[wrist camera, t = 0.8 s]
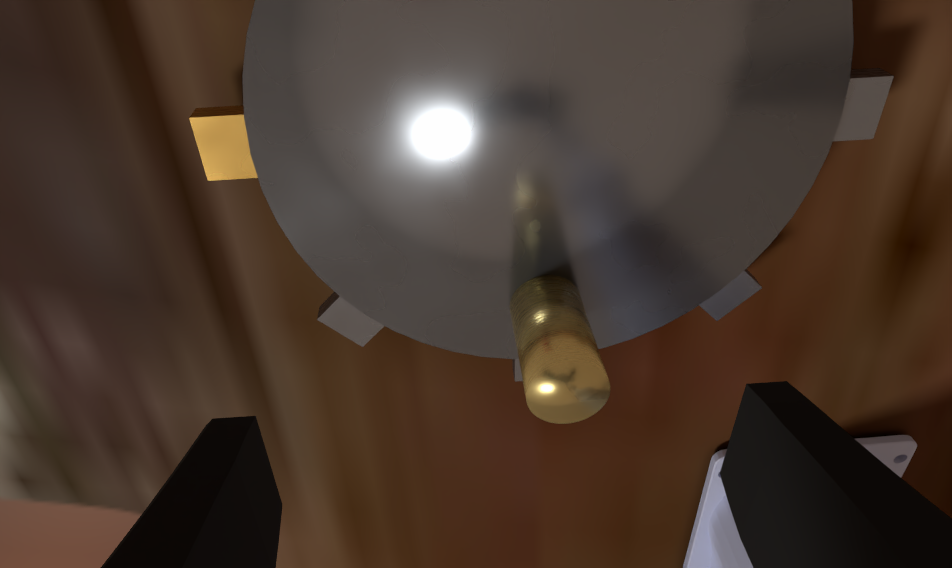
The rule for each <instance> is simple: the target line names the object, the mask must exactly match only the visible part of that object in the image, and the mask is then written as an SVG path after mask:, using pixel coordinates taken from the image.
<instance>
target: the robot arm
mask: <svg viewBox="0 0 952 568" xmlns="http://www.w3.org/2000/svg"><path fill="white" fill-rule="evenodd" d="M916 448H917V444H916V442H915V441H914V440H913V438H912V437H911V436H909V435H894V436H881V437H869V438H856V439H854V438H853V437H852V436H851V435H849V434H848V433H847V432H846V431H845V430H844V429H842V428H841V427H840V426H839V425H838V424H837V423H835V422H834V421H833V420H832V419H831V418H830V417H828V416H827V415H826V414H825V413H824V412H823V411H821V410H820V409H819V408H818V407H817V406H816V405H814V404H813V403H812V402H811V401H810V400H809V399H807V398H806V397H805V396H804V395H803V394H801V393H800V392H799V391H798V390H797V389H795V388H794V387H793V386H792V385H790V384H789V383H788V382H787V381H784V382H769V383H753V384H746V387H745V391H744V394H743V397H742V401H741V404H740V407H739V411H738V414H737V417H736V420H735V424H734V427H733V430H732V434H731V437H730V440H729V444H728V447H727V449H724V450H720V451H718V452H716V453H715V454H714V455H713V456H712V458H711V461H710V465H709V469H708V473H707V477H706V481H705V484H704V488H703V492H702V496H701V500H700V504H699V507H698V511H697V515H696V519H695V523H694V527H693V531H692V534H691V538H690V542H689V546H688V550H687V554H686V557H685V561H684V565H683V568H952V519H951V518H950V517H949V516H948V515H946V514H945V513H944V512H943V511H941V510H940V509H939V508H937V507H936V506H935V505H934V504H932V503H931V502H930V501H929V500H927V499H926V498H925V497H924V496H922V495H921V494H920V493H919V492H918V491H916V490H915V489H914V488H913V487H911V486H910V485H909V484H908V483H907V482H905V481H904V480H903V479H902V478H901V477H902V475H903V473H904V471H905V470H906V468H907V466H908V464H909V462H910V460H911V458H912V456H913V454H914V452H915V450H916ZM281 513H282V502H281V499H280V496H279V492H278V489H277V486H276V482H275V479H274V476H273V472H272V469H271V466H270V462H269V459H268V456H267V452H266V449H265V446H264V442H263V439H262V436H261V432H260V429H259V426H258V423H257V419H256V416H248V417H233V418H217V419H212V420H211V421H210V422H209V423H208V424H207V425H206V426H205V428H204V429H203V431H202V432H201V433H200V435H199V436H198V438H197V439H196V441H195V442H194V443H193V445H192V446H191V448H190V449H189V450H188V452H187V453H186V455H185V456H184V458H183V459H182V460H181V462H180V463H179V465H178V466H177V467H176V469H175V470H174V472H173V473H172V474H171V476H170V477H169V478H168V480H167V481H166V483H165V484H164V485H163V487H162V488H161V489H160V491H159V492H158V494H157V495H156V496H155V498H154V499H153V500H152V502H151V503H150V504H149V506H148V507H147V509H146V510H145V511H144V512H143V514H142V515H141V516H140V518H139V519H138V520H137V522H136V523H135V524H134V525H133V527H132V528H131V529H130V531H129V532H128V533H127V535H126V536H125V537H124V538H123V540H122V541H121V542H120V544H119V545H118V546H117V548H116V549H115V550H114V552H113V553H112V554H111V555H110V557H109V558H108V559H107V560H106V562H105V563H104V564H103V566H102V567H101V568H275V567H276V559H277V551H278V543H279V533H280V523H281Z"/></svg>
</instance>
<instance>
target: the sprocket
mask: <svg viewBox="0 0 952 568" xmlns="http://www.w3.org/2000/svg"><path fill="white" fill-rule="evenodd" d="M853 43H854V38H853V9H852V0H255V4H254V8H253V12H252V16H251V20H250V24H249V28H248V32H247V38H246V47H245V57H244V67H243V76H242V78H243V105H242V106H225V107H208V108H196V109H195V111H194V112H193V113H192V115H191V116H190V117H189V119H190V122H191V125H192V129H193V132H194V136H195V139H196V142H197V146H198V149H199V152H200V156H201V159H202V162H203V166H204V169H205V173H206V176H207V179H208V181H212V180H228V179H244V178H258V179H259V182H260V185H261V188H262V191H263V193H264V195H265V197H266V199H267V201H268V204H269V206H270V208H271V210H272V212H273V214H274V216H275V218H276V220H277V222H278V224H279V225H280V227H281V228H282V230H283V231H284V233H285V235H286V236H287V238H288V239H289V241H290V242H291V244H292V245H293V247H294V248H295V250H296V251H297V252H298V254H299V255H300V256H301V257H302V258H303V259H304V261H305V262H306V263H307V264H308V265H309V266H310V268H311V269H312V270H313V271H314V272H315V273H316V275H317V276H318V277H319V278H320V279H322V280H323V281H324V282H325V283H326V284H327V285H328V286H329V287H330V288H331V289H332V290H334V293H333V294H332V295H331V296H330V297H329V298H328V299H327V300H326V301H325V302H324V303H323V304H322V305H321V306H320V308H319V313H318V318H317V320H319V321H320V322H322V323H324V324H325V325H327V326H329V327H330V328H332V329H334V330H335V331H337V332H339V333H340V334H342V335H344V336H345V337H347V338H349V339H350V340H352V341H354V342H355V343H357V344H359V345H360V346H362V347H363V346H364V345H365V344H366V343H367V342H368V341H369V340H370V339H371V338H372V337H373V336H375V335H376V334H377V333H378V332H379V331H380V330H381V329H382V328H383V327H384V326H386V327H388V328H390V329H392V330H393V331H396V332H398V333H400V334H403V335H405V336H408V337H410V338H413V339H415V340H417V341H420V342H422V343H425V344H429V345H432V346H436V347H439V348H443V349H446V350H450V351H453V352H459V353H465V354H470V355H476V356H481V357H493V358H507V359H513V373H514V379H515V381H523V384H524V389H525V395H526V400H527V404H528V407H529V409H530V410H531V412H532V413H533V414H534V415H536V416H537V417H538V418H540V419H542V420H545V421H547V422H551V423H559V424H565V423H573V422H578V421H581V420H584V419H586V418H588V417H590V416H592V415H593V414H595V413H596V412H598V411H599V410H600V409H601V408H602V407H603V406H604V404H605V403H606V401H607V400H608V397H609V395H610V383H609V380H608V377H607V374H606V371H605V368H604V365H603V362H602V359H601V356H600V353H599V350H598V349H601V348H605V347H608V346H611V345H614V344H617V343H620V342H623V341H626V340H630V339H633V338H635V337H638V336H640V335H642V334H645V333H647V332H649V331H652V330H654V329H656V328H658V327H661V326H663V325H665V324H667V323H669V322H671V321H672V320H674V319H676V318H678V317H680V316H681V315H683V314H685V313H687V312H689V311H691V310H692V309H694V308H695V307H697V306H698V305H699V306H701V307H702V308H703V309H704V310H705V311H706V312H707V313H709V314H710V315H711V316H712V317H713V318H714V319H715V320H717V321H718V320H719V319H720V318H722V317H723V316H724V315H726V314H727V313H728V312H730V311H731V310H733V309H734V308H735V307H737V306H738V305H739V304H741V303H742V302H743V301H745V300H746V299H748V298H749V297H750V296H752V295H753V294H754V293H756V292H757V291H758V290H760V289H761V288H762V287H761V286H760V284H759V283H758V281H757V280H756V279H755V277H754V276H753V275H752V274H751V273H750V272H749V271H748V270H747V267H748V266H749V265H750V264H751V263H752V262H753V261H754V260H755V259H756V258H757V257H758V256H759V255H760V254H761V253H762V252H763V251H764V250H765V249H766V248H767V247H768V246H769V245H770V244H771V243H772V242H773V240H774V239H775V238H776V237H777V235H778V234H779V233H780V232H781V230H782V229H783V228H784V227H785V225H786V224H787V223H788V222H789V220H790V219H791V218H792V217H793V215H794V213H795V212H796V210H797V209H798V207H799V206H800V204H801V203H802V201H803V199H804V198H805V196H806V195H807V193H808V192H809V190H810V189H811V187H812V185H813V183H814V181H815V179H816V177H817V175H818V173H819V171H820V169H821V167H822V165H823V163H824V161H825V159H826V157H827V155H828V153H829V150H830V147H831V145H832V142H833V141H846V140H862V139H873V137H874V134H875V131H876V128H877V125H878V122H879V119H880V116H881V113H882V110H883V107H884V104H885V101H886V98H887V95H888V92H889V89H890V86H891V83H892V80H893V77H894V76H893V75H891V74H890V73H888V72H886V71H884V70H883V69H881V68H870V69H853V70H851V63H852V53H853Z"/></svg>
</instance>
